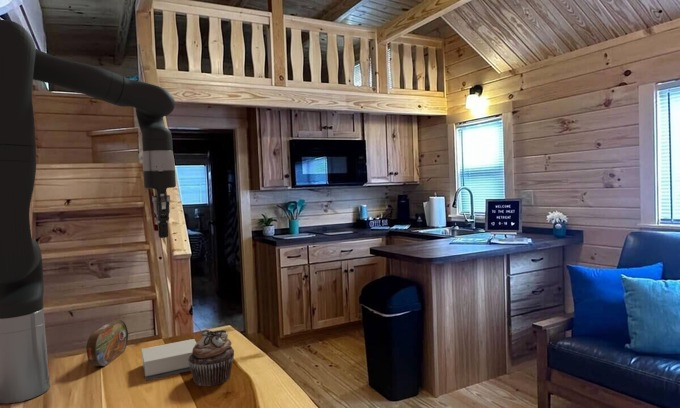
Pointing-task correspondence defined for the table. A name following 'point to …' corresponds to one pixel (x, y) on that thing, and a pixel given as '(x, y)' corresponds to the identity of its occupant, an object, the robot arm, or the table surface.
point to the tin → (107, 343)
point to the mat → (166, 373)
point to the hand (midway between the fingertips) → (163, 237)
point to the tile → (167, 357)
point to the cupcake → (211, 359)
